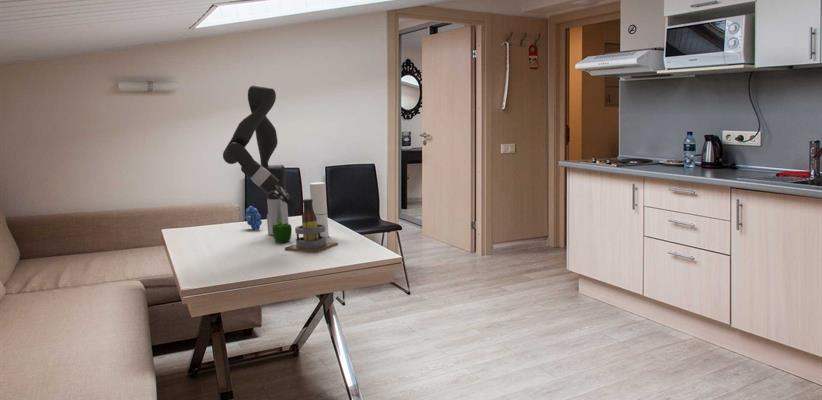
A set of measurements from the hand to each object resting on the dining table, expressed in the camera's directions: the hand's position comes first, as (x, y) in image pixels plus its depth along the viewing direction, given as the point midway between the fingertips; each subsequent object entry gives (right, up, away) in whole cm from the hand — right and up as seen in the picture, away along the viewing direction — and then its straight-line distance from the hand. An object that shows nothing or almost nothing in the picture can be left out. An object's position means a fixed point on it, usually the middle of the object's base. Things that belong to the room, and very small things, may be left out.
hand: (294, 204), depth 268 cm
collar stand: (+7, -18, +4) cm, 20 cm away
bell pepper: (-9, -17, +19) cm, 27 cm away
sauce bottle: (+7, -17, +3) cm, 19 cm away
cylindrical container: (+7, -15, +27) cm, 32 cm away
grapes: (-31, -13, +53) cm, 63 cm away
